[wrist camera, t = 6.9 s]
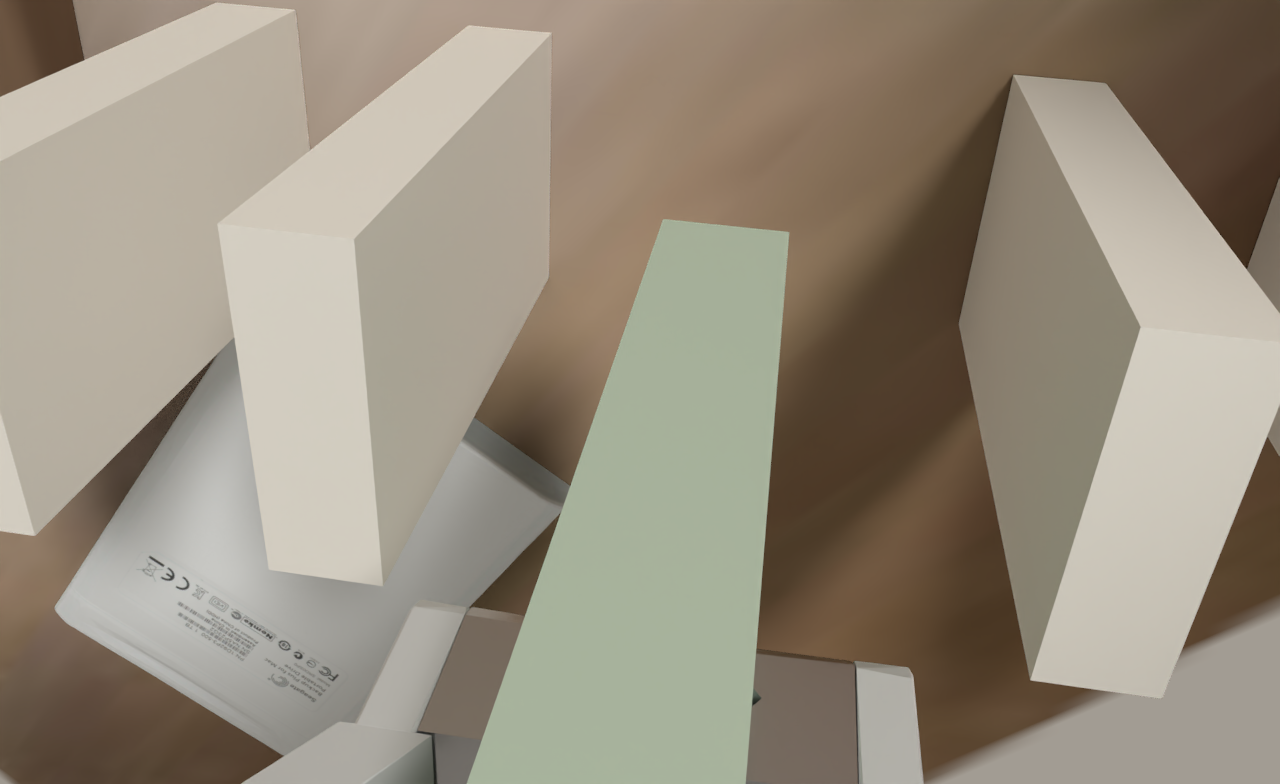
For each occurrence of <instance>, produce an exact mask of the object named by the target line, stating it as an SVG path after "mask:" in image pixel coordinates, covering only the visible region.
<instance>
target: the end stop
mask: <svg viewBox="0 0 1280 784" xmlns="http://www.w3.org/2000/svg"><path fill="white" fill-rule="evenodd" d="M81 61H84V58H83V53H82V48H81V43H80V38H79V33H78V28H77V23H76V18H75V13H74V8H73V3H72V0H0V97H1V96H3V95H6V94H8V93H10V92H13V91H15V90H17V89H19V88H22V87H24V86H26V85H29V84H31V83H33V82H35V81H38V80H40V79H42V78H45V77H47V76H49V75H52V74H54V73H56V72H58V71H61V70H63V69H65V68H68V67H70V66H72V65H74V64H77V63H79V62H81Z"/></svg>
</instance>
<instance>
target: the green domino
mask: <svg viewBox="0 0 1280 784" xmlns="http://www.w3.org/2000/svg"><path fill="white" fill-rule="evenodd" d="M788 242H789V232H783V231H773V230H764V229H754V228H744V227H735V226H725V225H715V224H706V223H696V222H686V221H677V220H667V219H663V221H662V224H661V227H660V230H659V233H658V236H657V239H656V242H655V244H654V247H653V250H652V253H651V256H650V259H649V262H648V264H647V267H646V270H645V273H644V276H643V279H642V282H641V285H640V287H639V290H638V293H637V296H636V299H635V302H634V305H633V308H632V310H631V313H630V316H629V319H628V322H627V325H626V328H625V331H624V333H623V336H622V339H621V342H620V345H619V348H618V351H617V354H616V356H615V359H614V362H613V365H612V368H611V371H610V374H609V376H608V379H607V382H606V385H605V388H604V391H603V394H602V397H601V399H600V402H599V405H598V408H597V411H596V414H595V417H594V420H593V422H592V425H591V428H590V431H589V434H588V437H587V440H586V443H585V445H584V448H583V451H582V454H581V457H580V460H579V463H578V465H577V468H576V471H575V474H574V477H573V480H572V483H571V486H570V488H569V491H568V494H567V497H566V500H565V503H564V506H563V509H562V511H561V514H560V517H559V520H558V523H557V526H556V529H555V532H554V534H553V537H552V540H551V543H550V546H549V549H548V552H547V555H546V557H545V560H544V563H543V566H542V569H541V572H540V575H539V577H538V580H537V583H536V586H535V589H534V592H533V595H532V598H531V600H530V603H529V606H528V609H527V612H526V615H525V618H524V621H523V623H522V626H521V629H520V632H519V635H518V638H517V641H516V644H515V646H514V649H513V652H512V655H511V658H510V661H509V664H508V667H507V669H506V672H505V675H504V678H503V681H502V684H501V687H500V689H499V692H498V695H497V698H496V701H495V704H494V707H493V710H492V712H491V715H490V718H489V721H488V724H487V727H486V730H485V733H484V735H483V738H482V741H481V744H480V747H479V750H478V753H477V756H476V758H475V761H474V764H473V767H472V770H471V773H470V776H469V778H468V781H467V784H746V773H747V760H748V748H749V735H750V722H751V710H752V697H753V684H754V672H755V659H756V646H757V634H758V621H759V608H760V596H761V583H762V571H763V558H764V545H765V533H766V520H767V507H768V495H769V482H770V469H771V457H772V444H773V431H774V419H775V406H776V393H777V381H778V368H779V355H780V343H781V330H782V317H783V305H784V292H785V280H786V267H787V254H788Z"/></svg>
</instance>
